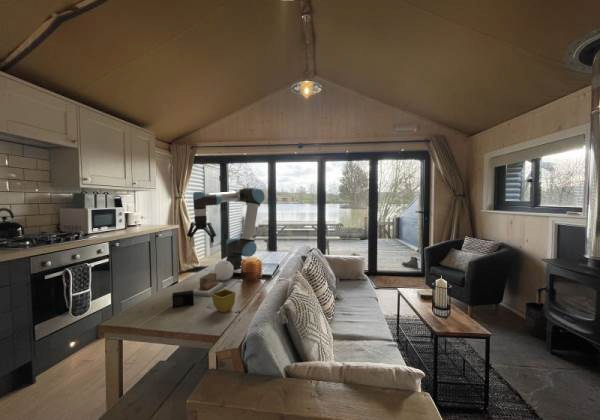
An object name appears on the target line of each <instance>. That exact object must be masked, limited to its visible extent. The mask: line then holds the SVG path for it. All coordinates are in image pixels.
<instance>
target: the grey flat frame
mask: <svg viewBox="0 0 600 420" xmlns="http://www.w3.org/2000/svg"><path fill="white" fill-rule="evenodd" d="M227 286H228V284H227V283H224V282H217V286H215V287H214V288H212V289H210V290H209V291H202V290H200V286H198V287H196V288H195V289H193V296H198V297H199V296H200V297H212V294H213V293H216V292H219V291H221V290H223V289H224V288H225V287H227Z"/></svg>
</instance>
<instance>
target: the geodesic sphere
mask: <svg viewBox="0 0 600 420" xmlns="http://www.w3.org/2000/svg"><path fill="white" fill-rule="evenodd" d="M234 270H235V269H234V268H233V265H232V264H231V263H230V262H228V261H226V260H221V261H219V262H218V263H216V264H215V266H214V268H213V272H214V273H216V275H217V280H220V281H228V280H229V279H230V278H231V277H233V274H234Z"/></svg>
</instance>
